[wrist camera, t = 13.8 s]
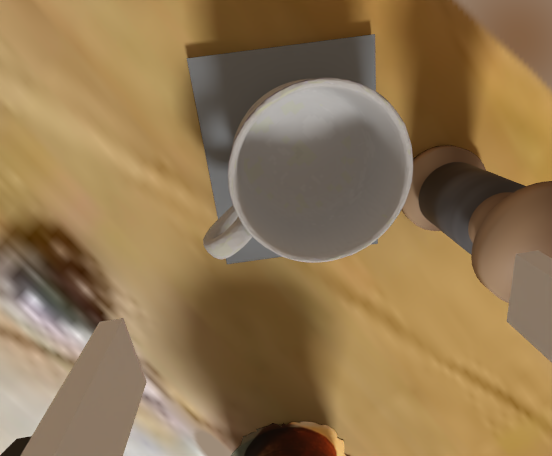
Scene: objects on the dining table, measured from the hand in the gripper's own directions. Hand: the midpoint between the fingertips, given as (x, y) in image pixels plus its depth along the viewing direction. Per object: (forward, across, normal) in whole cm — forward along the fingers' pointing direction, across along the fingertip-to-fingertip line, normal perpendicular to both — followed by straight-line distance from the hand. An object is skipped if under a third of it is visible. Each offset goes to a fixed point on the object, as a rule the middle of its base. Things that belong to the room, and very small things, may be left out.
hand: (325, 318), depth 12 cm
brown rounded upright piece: (+18, +13, -3) cm, 23 cm away
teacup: (+18, +1, +1) cm, 18 cm away
